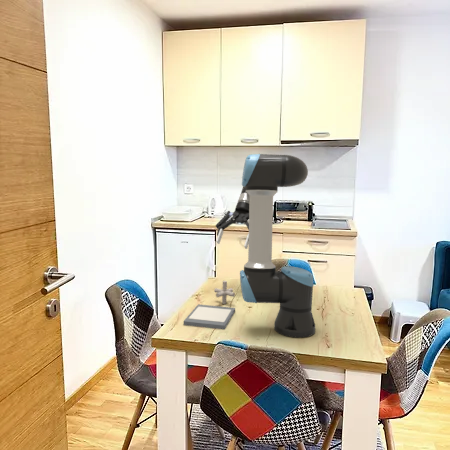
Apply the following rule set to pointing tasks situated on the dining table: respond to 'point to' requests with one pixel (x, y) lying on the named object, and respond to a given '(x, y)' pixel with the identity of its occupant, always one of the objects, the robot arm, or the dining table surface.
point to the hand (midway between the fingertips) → (231, 245)
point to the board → (210, 316)
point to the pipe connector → (224, 292)
